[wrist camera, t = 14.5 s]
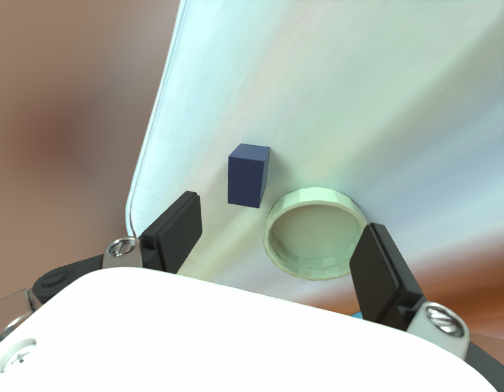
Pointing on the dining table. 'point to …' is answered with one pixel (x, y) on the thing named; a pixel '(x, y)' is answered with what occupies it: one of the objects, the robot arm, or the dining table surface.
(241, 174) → the navy blue block
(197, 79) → the dining table surface
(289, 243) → the bowl
